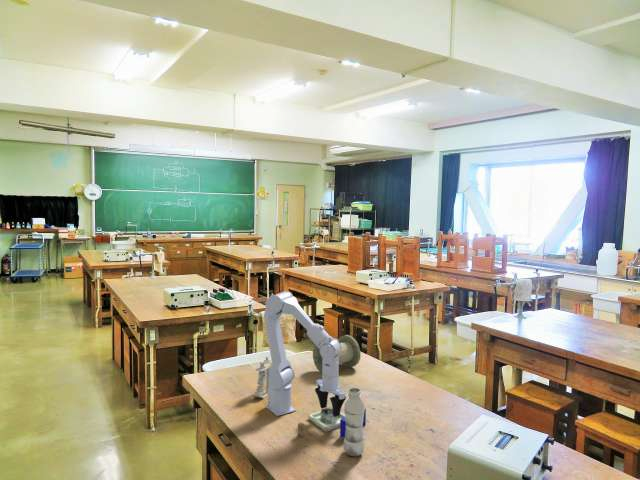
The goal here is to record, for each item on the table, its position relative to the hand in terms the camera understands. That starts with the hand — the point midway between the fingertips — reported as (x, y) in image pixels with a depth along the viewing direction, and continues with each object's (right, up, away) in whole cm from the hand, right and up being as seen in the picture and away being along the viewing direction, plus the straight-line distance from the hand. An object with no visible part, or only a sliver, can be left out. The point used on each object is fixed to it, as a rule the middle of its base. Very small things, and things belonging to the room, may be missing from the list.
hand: (329, 411), depth 157 cm
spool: (+4, 0, +50) cm, 51 cm away
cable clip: (+8, -4, -7) cm, 12 cm away
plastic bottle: (+7, -5, -20) cm, 22 cm away
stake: (-10, -4, -10) cm, 15 cm away
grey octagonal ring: (0, -3, 0) cm, 3 cm away
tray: (0, -3, 0) cm, 3 cm away
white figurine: (-27, -2, +20) cm, 34 cm away
